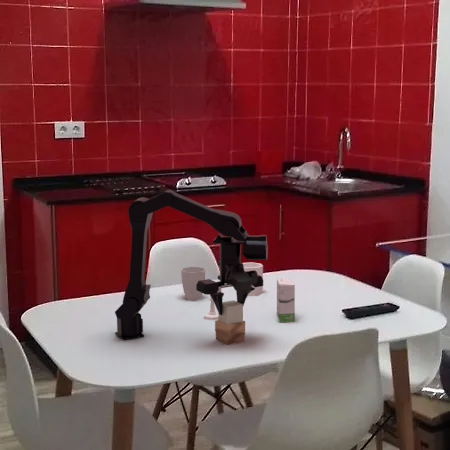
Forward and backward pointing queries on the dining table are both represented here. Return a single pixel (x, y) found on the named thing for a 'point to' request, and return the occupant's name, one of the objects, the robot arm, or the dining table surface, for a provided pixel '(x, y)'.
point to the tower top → (229, 328)
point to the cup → (192, 281)
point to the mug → (259, 270)
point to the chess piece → (211, 312)
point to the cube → (231, 312)
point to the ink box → (285, 300)
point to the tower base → (230, 338)
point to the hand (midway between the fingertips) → (230, 313)
